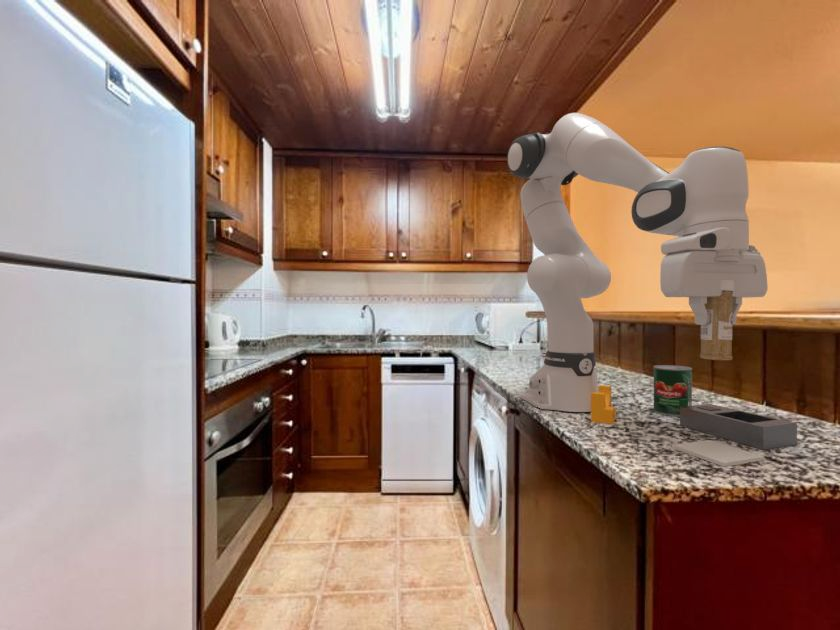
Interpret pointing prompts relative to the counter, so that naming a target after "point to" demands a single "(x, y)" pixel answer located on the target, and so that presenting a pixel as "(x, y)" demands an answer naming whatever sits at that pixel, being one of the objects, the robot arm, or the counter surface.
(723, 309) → the sprinkles bottle
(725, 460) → the plate
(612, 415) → the orange stepped block
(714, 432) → the grey open box
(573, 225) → the robot arm
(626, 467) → the counter surface
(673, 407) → the canned tomato
